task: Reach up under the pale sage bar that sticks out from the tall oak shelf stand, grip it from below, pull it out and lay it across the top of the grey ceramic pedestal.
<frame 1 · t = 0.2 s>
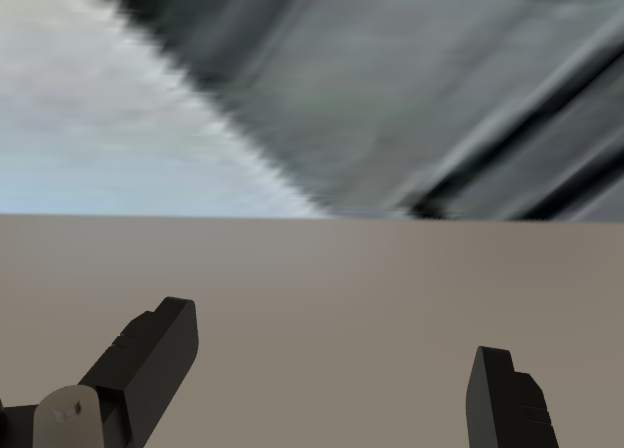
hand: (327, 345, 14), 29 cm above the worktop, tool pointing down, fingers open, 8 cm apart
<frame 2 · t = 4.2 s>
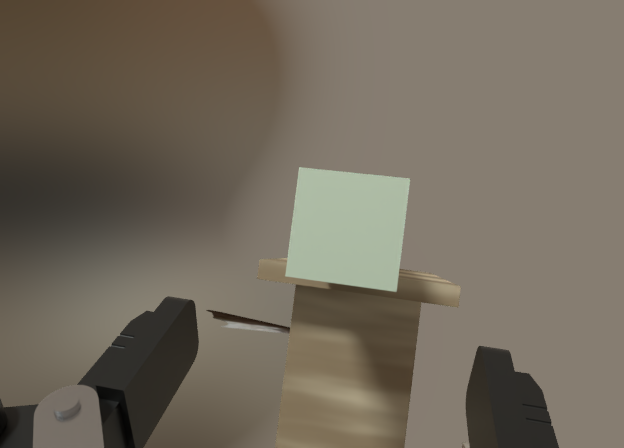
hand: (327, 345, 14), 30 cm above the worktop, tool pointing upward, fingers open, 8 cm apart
bar: (360, 270, 27), point 32 cm above the worktop, touching stand
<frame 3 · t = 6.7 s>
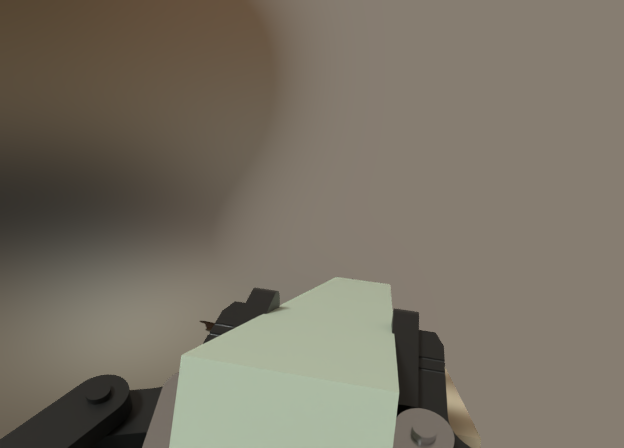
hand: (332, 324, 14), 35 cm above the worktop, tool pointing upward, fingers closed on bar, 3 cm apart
bar: (337, 385, 19), point 32 cm above the worktop, touching gripper, stand
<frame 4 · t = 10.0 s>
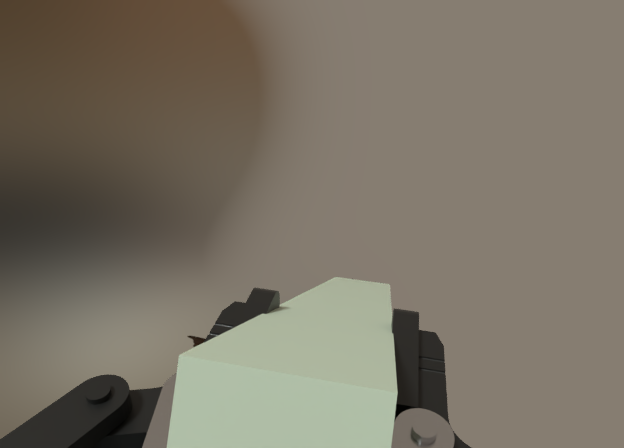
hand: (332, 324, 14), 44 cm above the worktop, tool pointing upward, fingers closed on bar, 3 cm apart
bar: (336, 385, 19), point 41 cm above the worktop, touching gripper
when the fingers open (25 cm above the worktop, at t = 13.6 s): bar drops 1 cm, resting on pedestal.
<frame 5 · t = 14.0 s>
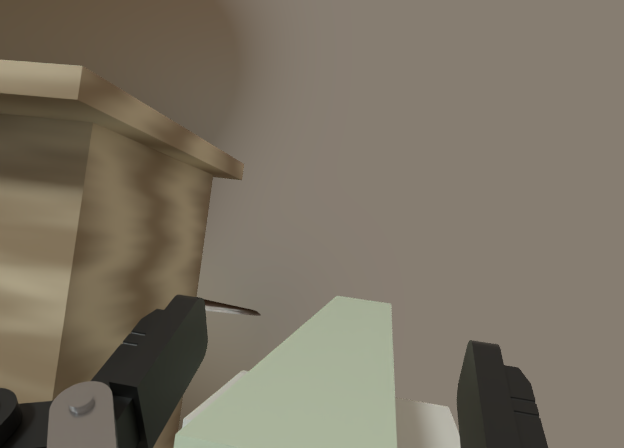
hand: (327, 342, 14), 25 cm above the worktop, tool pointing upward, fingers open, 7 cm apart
bar: (337, 418, 19), point 21 cm above the worktop, touching pedestal
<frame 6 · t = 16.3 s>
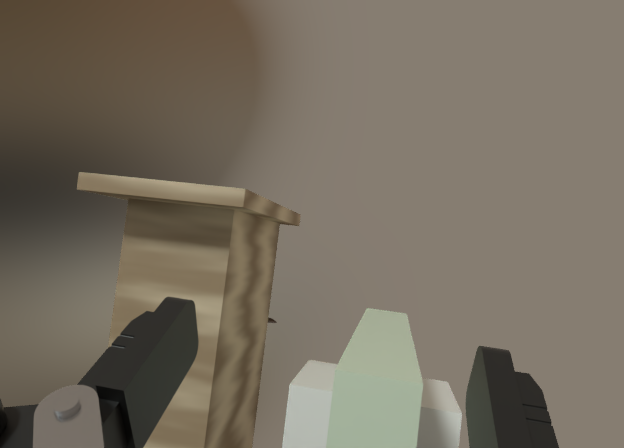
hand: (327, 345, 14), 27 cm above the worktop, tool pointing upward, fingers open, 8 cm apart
bar: (377, 386, 31), point 21 cm above the worktop, touching pedestal
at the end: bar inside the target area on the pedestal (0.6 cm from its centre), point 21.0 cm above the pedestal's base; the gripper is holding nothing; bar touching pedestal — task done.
